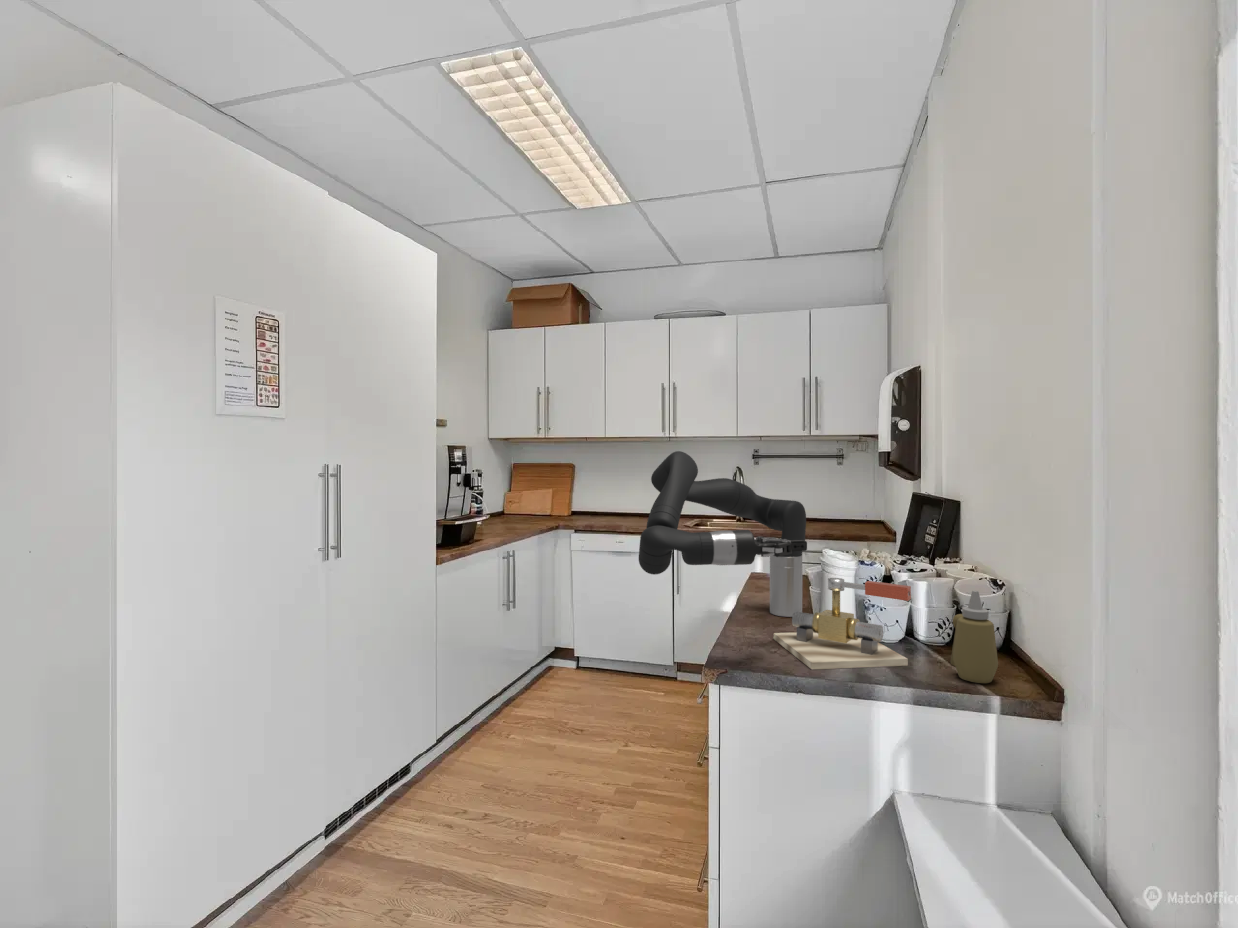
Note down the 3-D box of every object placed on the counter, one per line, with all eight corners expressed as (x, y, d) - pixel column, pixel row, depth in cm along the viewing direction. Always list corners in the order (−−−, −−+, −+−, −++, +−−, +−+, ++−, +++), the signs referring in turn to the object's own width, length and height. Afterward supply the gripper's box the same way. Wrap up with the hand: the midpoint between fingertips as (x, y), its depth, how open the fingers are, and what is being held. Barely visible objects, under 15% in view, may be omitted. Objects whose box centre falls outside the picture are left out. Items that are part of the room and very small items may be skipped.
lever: (825, 589, 140) (825, 577, 140) (831, 587, 142) (831, 575, 142) (906, 601, 128) (906, 588, 128) (911, 598, 131) (911, 585, 131)
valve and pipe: (790, 639, 144) (790, 586, 144) (799, 634, 148) (799, 582, 148) (877, 656, 131) (877, 598, 131) (884, 650, 136) (884, 593, 136)
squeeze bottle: (990, 674, 125) (991, 588, 125) (1004, 688, 117) (1004, 597, 117) (947, 670, 127) (948, 586, 127) (958, 683, 119) (958, 594, 119)
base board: (773, 638, 150) (773, 633, 150) (856, 636, 152) (856, 630, 152) (811, 669, 128) (811, 662, 128) (907, 665, 130) (907, 658, 130)
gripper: (739, 534, 123) (819, 532, 125) (720, 526, 136) (793, 525, 138) (739, 570, 123) (819, 567, 125) (721, 559, 136) (793, 557, 139)
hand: (805, 545), depth 132 cm, fingers closed
